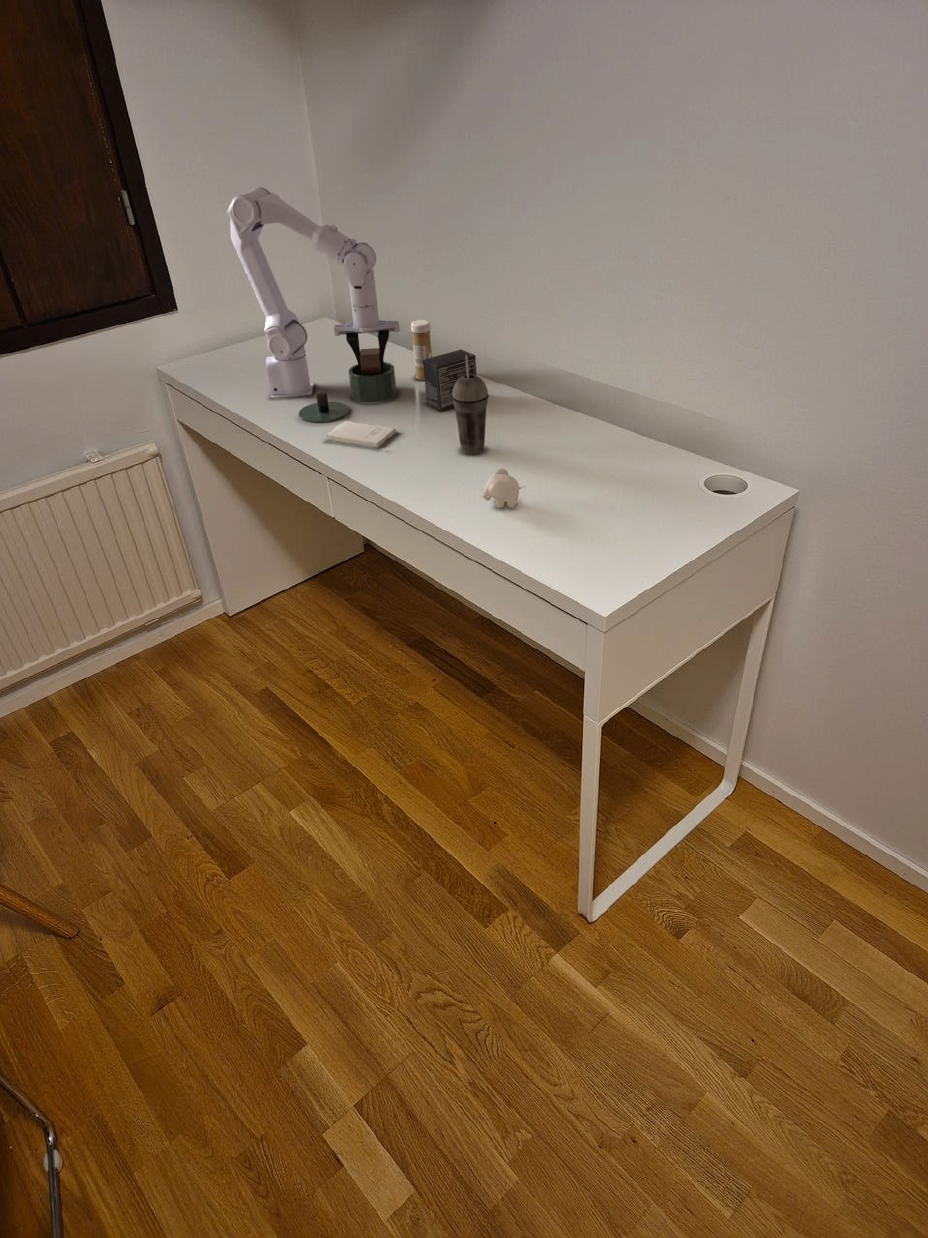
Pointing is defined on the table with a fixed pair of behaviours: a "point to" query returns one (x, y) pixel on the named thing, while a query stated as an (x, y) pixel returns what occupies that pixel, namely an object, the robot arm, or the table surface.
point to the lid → (323, 410)
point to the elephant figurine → (502, 489)
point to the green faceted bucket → (373, 384)
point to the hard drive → (360, 434)
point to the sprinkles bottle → (421, 345)
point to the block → (370, 361)
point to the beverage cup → (470, 411)
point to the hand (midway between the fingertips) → (371, 364)
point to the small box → (445, 376)
